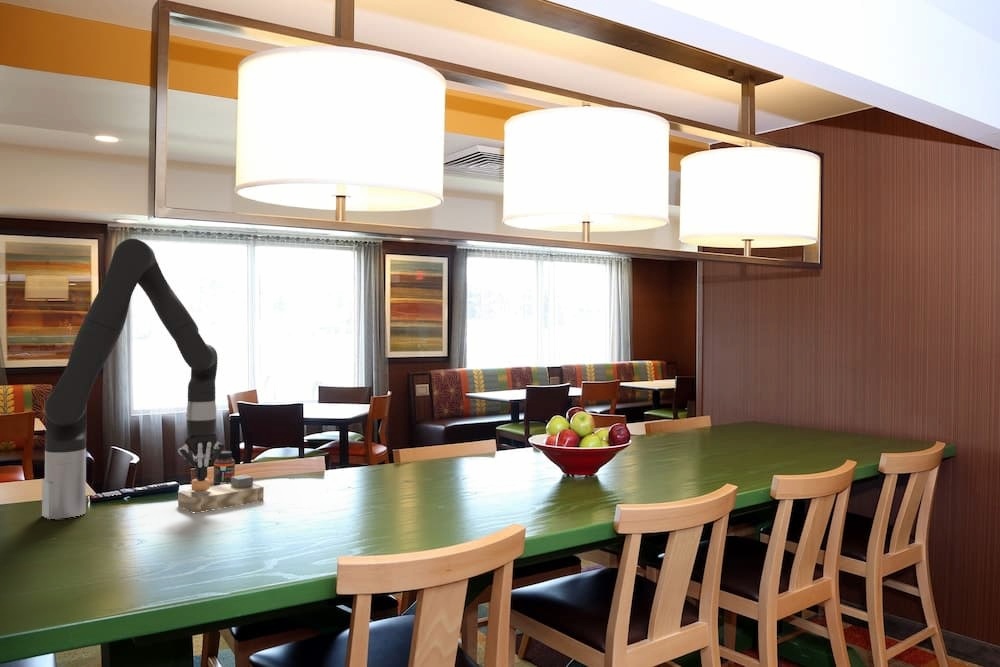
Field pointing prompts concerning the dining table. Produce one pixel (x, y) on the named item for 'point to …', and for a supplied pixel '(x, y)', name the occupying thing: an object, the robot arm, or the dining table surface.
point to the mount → (220, 497)
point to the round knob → (200, 486)
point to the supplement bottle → (224, 468)
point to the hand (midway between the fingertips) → (201, 480)
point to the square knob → (241, 481)
